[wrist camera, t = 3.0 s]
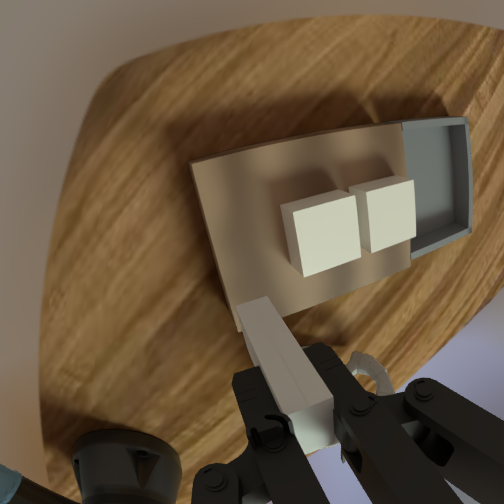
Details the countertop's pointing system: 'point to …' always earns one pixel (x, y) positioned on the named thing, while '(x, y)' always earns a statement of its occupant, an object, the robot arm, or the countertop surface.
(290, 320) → the countertop surface
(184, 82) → the countertop surface
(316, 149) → the board
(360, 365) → the mug
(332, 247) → the tile
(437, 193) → the tray
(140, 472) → the robot arm
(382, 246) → the tile
